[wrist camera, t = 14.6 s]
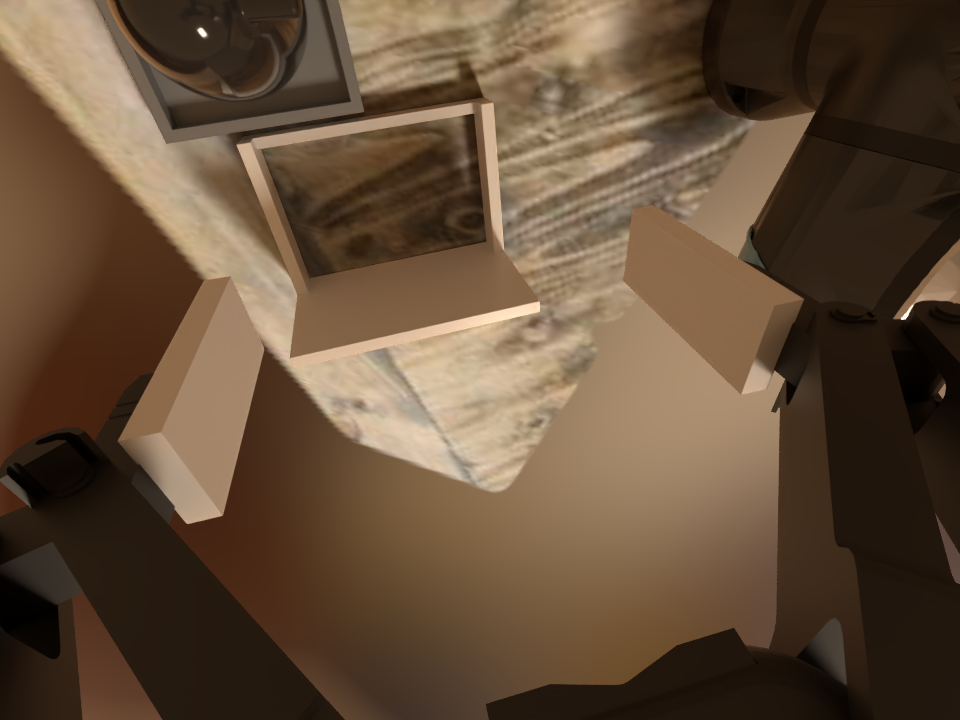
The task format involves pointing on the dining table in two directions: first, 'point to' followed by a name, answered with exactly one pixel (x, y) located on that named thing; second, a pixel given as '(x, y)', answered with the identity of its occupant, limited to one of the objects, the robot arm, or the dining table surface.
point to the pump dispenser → (218, 43)
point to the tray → (307, 96)
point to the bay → (401, 283)
